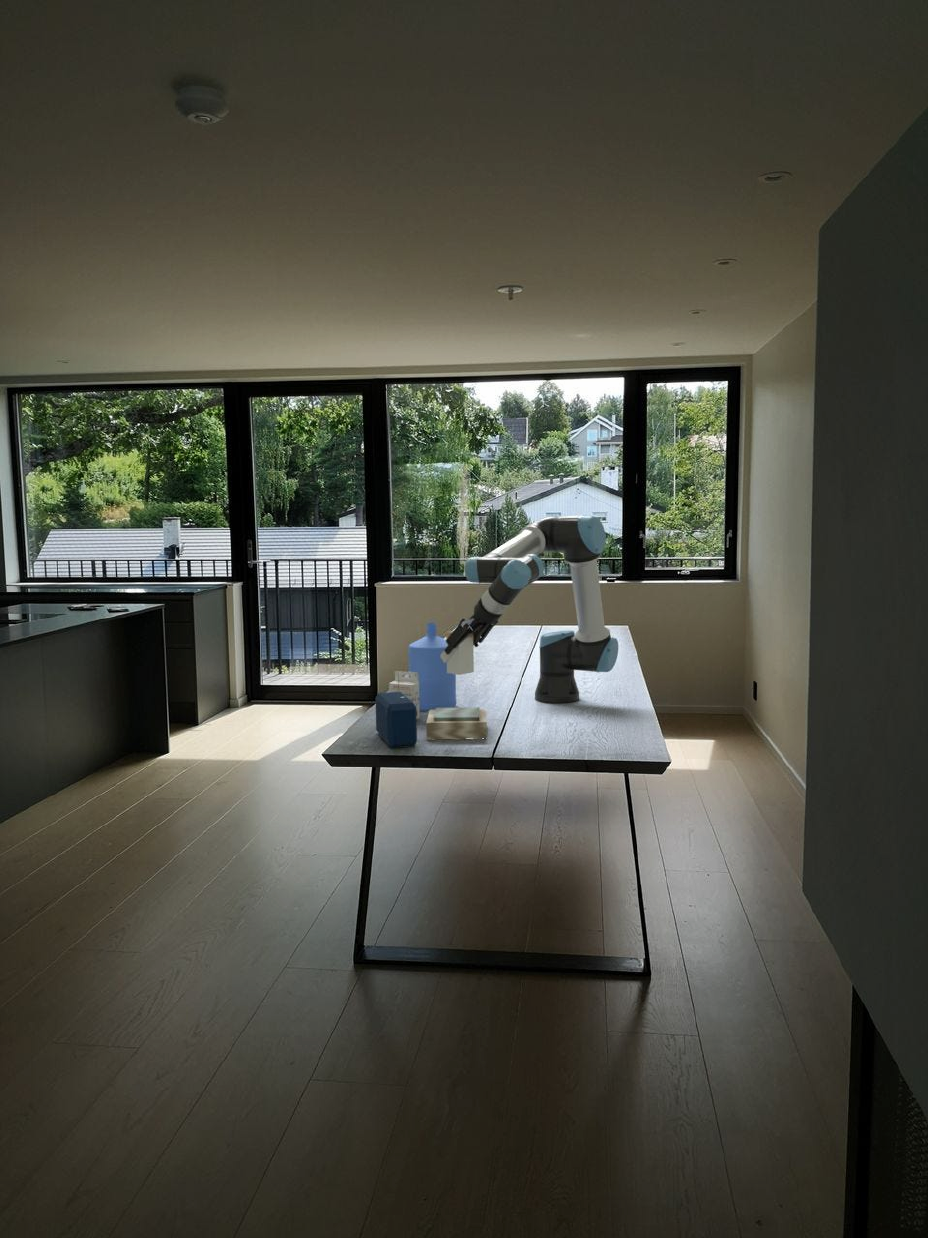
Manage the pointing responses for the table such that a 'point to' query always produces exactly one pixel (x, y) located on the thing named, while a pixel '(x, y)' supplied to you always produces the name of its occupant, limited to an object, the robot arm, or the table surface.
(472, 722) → the birch tray
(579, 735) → the table surface
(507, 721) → the table surface
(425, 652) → the water jug
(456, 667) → the plate
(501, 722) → the table surface
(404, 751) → the table surface
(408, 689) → the ink cartridge box
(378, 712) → the radio
